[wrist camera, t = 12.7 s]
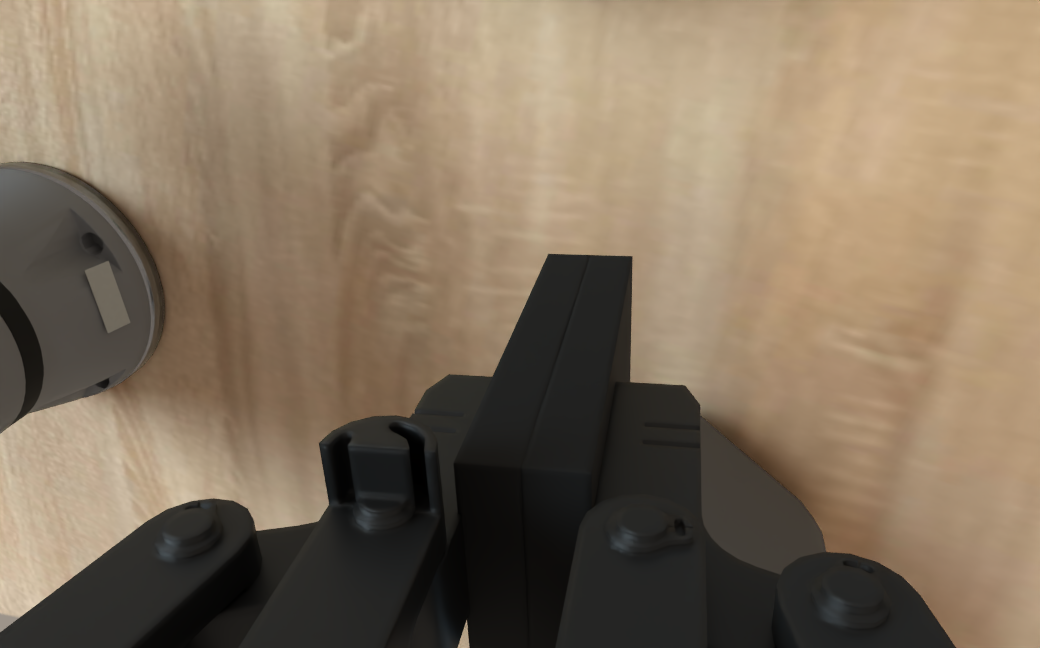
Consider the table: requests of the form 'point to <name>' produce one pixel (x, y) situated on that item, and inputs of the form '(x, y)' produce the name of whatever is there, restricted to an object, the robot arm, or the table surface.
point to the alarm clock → (751, 508)
